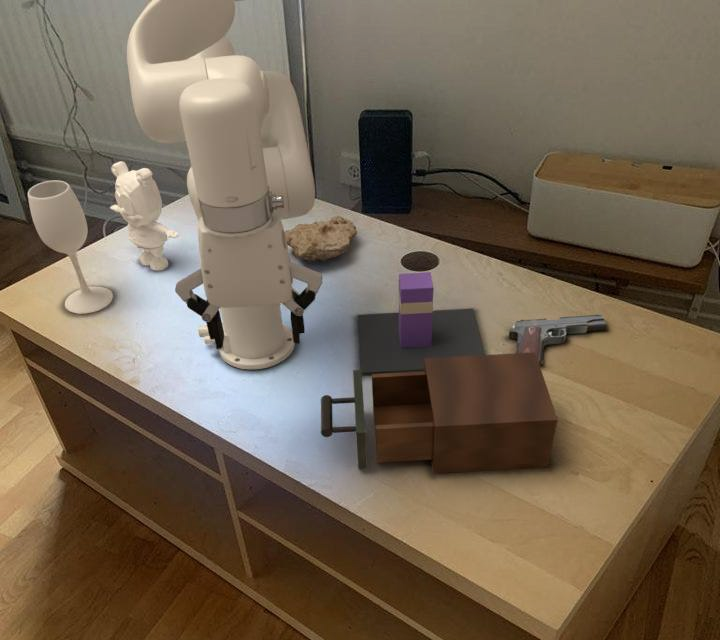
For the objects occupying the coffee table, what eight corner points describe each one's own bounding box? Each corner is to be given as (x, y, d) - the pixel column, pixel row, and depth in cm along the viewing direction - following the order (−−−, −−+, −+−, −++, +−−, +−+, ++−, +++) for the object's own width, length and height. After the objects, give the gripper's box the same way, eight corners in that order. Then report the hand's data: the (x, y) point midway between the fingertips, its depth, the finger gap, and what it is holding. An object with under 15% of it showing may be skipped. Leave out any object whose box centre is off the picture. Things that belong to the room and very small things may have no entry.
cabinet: (432, 473, 99) (435, 426, 93) (422, 405, 109) (424, 358, 102) (547, 467, 99) (557, 419, 93) (527, 399, 109) (535, 352, 102)
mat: (360, 375, 114) (360, 372, 114) (357, 317, 125) (357, 314, 125) (486, 368, 114) (487, 365, 114) (472, 311, 125) (472, 308, 125)
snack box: (400, 348, 118) (400, 289, 110) (398, 332, 121) (398, 273, 113) (431, 346, 118) (433, 287, 110) (428, 330, 121) (430, 271, 113)
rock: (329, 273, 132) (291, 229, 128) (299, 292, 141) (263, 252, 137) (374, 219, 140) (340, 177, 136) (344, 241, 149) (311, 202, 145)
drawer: (323, 471, 99) (319, 434, 94) (323, 408, 108) (319, 371, 103) (464, 463, 99) (468, 426, 94) (452, 401, 108) (455, 364, 103)
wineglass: (55, 309, 131) (9, 197, 116) (84, 284, 136) (44, 174, 121) (94, 318, 128) (52, 204, 113) (122, 292, 134) (86, 181, 118)
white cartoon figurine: (171, 289, 134) (144, 187, 120) (107, 255, 143) (75, 157, 129) (202, 271, 138) (179, 171, 124) (138, 240, 147) (110, 143, 133)
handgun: (514, 369, 114) (515, 359, 112) (499, 328, 121) (500, 319, 120) (622, 362, 114) (625, 352, 113) (600, 322, 122) (603, 313, 121)
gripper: (315, 188, 81) (327, 318, 93) (161, 198, 81) (193, 327, 93) (315, 220, 76) (328, 353, 88) (151, 230, 76) (186, 362, 88)
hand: (258, 339), depth 91 cm, fingers open, 9 cm apart
